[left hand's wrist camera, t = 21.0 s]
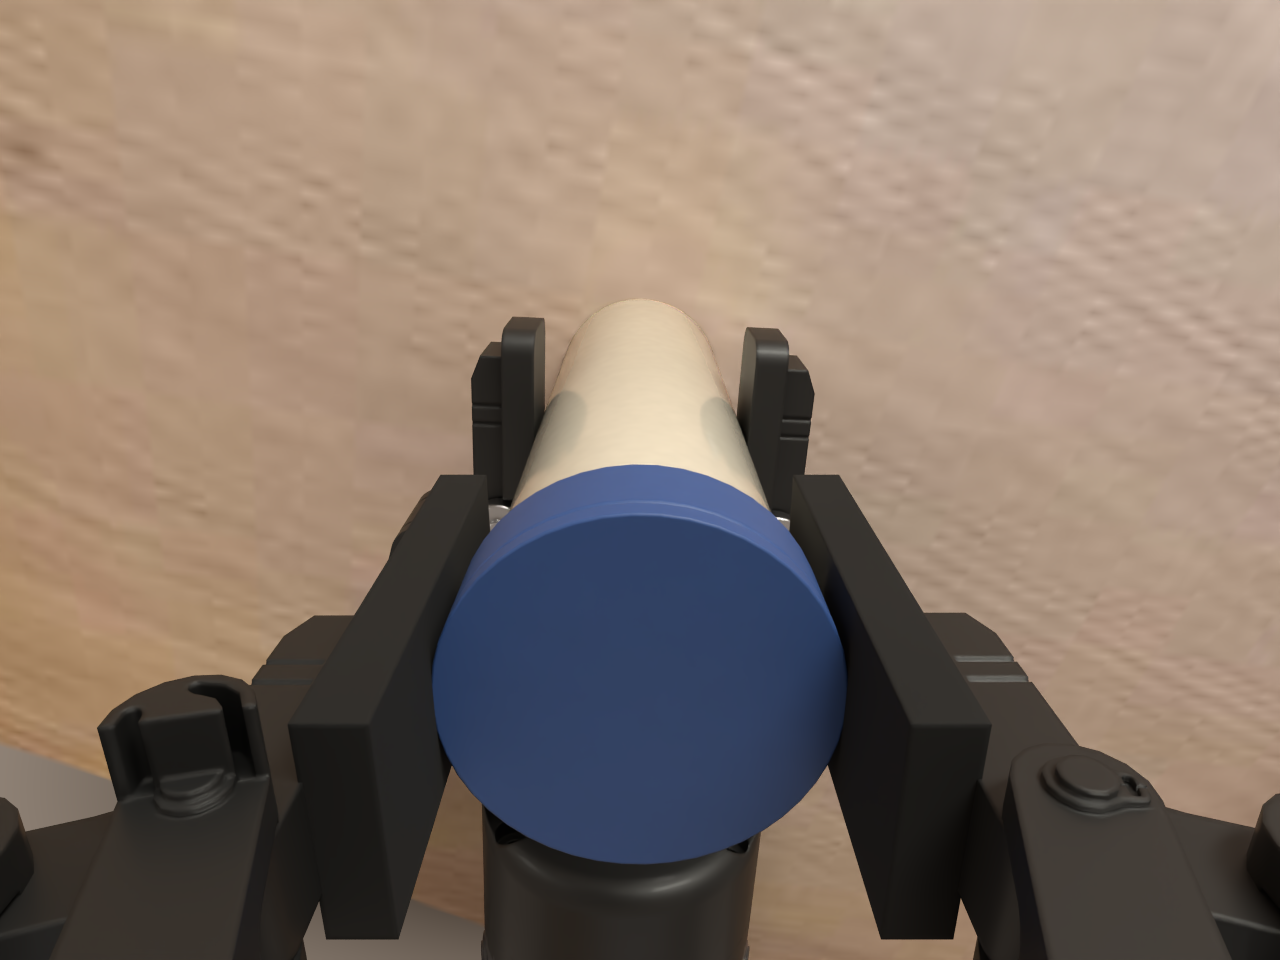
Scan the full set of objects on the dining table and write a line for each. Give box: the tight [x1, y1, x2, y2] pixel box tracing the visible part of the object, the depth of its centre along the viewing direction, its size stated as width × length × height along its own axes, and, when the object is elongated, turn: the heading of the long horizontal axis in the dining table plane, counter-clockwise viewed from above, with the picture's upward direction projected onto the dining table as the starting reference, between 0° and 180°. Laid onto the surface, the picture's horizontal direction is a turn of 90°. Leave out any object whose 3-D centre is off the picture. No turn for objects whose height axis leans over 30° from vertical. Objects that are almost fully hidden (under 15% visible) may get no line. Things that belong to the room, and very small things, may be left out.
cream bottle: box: [508, 299, 771, 513], centre depth 18 cm, size 5×5×16 cm
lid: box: [432, 464, 848, 864], centre depth 11 cm, size 5×5×2 cm
